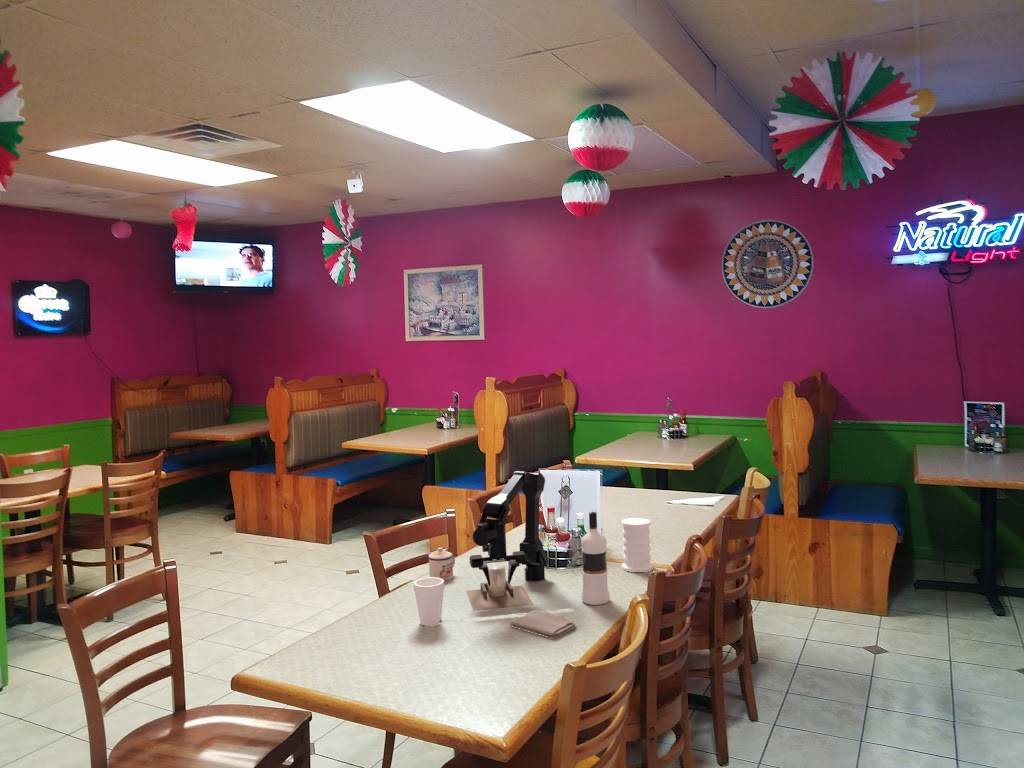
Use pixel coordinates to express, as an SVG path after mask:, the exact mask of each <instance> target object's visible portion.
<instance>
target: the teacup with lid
mask: <svg viewBox="0 0 1024 768" xmlns="http://www.w3.org/2000/svg"><path fill="white" fill-rule="evenodd" d="M427 559H428V567H429V577H437V578H441V579H443V580H444V581H451V580H453V578H454V569H453V568H454V567H455V564H456V557H455V556H453V553H452V552H450V551H446V549H445V550H444V548H443V547H437V550H435V551H433V552H432V553H429V555H428V557H427Z"/></svg>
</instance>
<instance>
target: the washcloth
mask: <svg viewBox="0 0 1024 768" xmlns="http://www.w3.org/2000/svg"><path fill="white" fill-rule="evenodd" d="M511 626H513V627H516V628H520V629H523V630H526V631H530V632H533V633H532V634H534V633H537V634H541V635H544V636H547V637H548V639H550V638H552V639H551V640H555V639H557V637H558V638H560V636H561V637H562V636H564V635H566V634H568V633H570V632H571V630H572V631H574V630H575V629H576V628H577V626H576V623H574V620H573V619H569V618H566V617H565V616H563V614H562V615H561V614H555V613H551V612H547V611H542V610H539V609H534V610H531V611H529V612H528V613H526V614H524V615H523V616H520V617H518V618H515V619H514V620H512V621H510V623H509V627H511ZM513 627H512V628H513ZM516 628H515V629H516ZM520 629H519V630H520ZM573 629H574V630H573ZM523 630H522V631H523ZM526 631H525V632H526ZM569 631H570V632H569ZM530 632H529V633H530ZM567 632H568V633H567ZM565 633H566V634H565ZM537 634H536V635H537ZM541 635H540V636H541ZM544 636H543V637H544ZM547 637H546V638H547Z"/></svg>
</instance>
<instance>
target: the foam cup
mask: <svg viewBox="0 0 1024 768" xmlns="http://www.w3.org/2000/svg"><path fill="white" fill-rule="evenodd" d="M444 589H445V580H443V579H441V578H437V577H430V576H429V577H422V578H419V579H416V580H415V581H413V592H414V594H415V599H416V606H417V611H418V618H419V622H420V625H421V624H422V626H423V625H425V626H424V627H434V626H433V625H435V626H438V625H439V623H440V624H441V622H442V621H441V620H442V615H443V613H442V612H443V601H444ZM437 624H438V625H437Z"/></svg>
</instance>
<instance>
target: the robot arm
mask: <svg viewBox="0 0 1024 768" xmlns="http://www.w3.org/2000/svg"><path fill="white" fill-rule="evenodd" d="M545 484H546V478H545V476H544V475H543V473H541V472H529V471H528V472H527V471H522V470H516V471H514V472H513V473H512V477H511V478H510V479H509V480H508V482H507V483H506V484H505V486H504V487H503V488H502V490H501V491H500V492H499V493H498V494H497V495H495V496H493V497H491V498H490V499H489V500H488V501H487V502H486V503H485V505H484V507H483V510H482V513H481V516H480V519H479V524H477V526H476V527H477V528H476V529H475V530H474V531H473V534H472V540H473V542H474V544H475V545H477V546H478V547H481V548H482V549H481V550H482V552H483V553H487V554H488V555H487V556H485V557H483V555H482V554H472V555H470V556H469V565H470V567H471V569H472V568H473V569H476V568H478V570H480V571H482V572H483V574H484V576H485V578H486V583H487V582H488V585H489V586H490V577H489V570H488V565H487V564H490V563H491V564H493V563H502V562H504V563H505V562H508V563H507V564H508V572H507V581H508V584H511V581H512V579H513V576H514V573H515V571H516V569H517V568H518V567H520V565H522V566H525V568H524V580H525V581H526V582H539V581H540V582H541V581H544V580H545V579H546V577H545V572H546V571H545V568H546V567H547V566H548V565H549V557H548V556H547V554H546V553H545V552H544V544H543V542H542V541H541V539H540V497H541V495H542V494H543V492H544V489H545ZM520 491H522V494H523V495H524V497H525V518H524V519H525V528H524V529H525V530H524V538H523V541H522V542H519V551H517V550H515V551H512V554H510V555H507V536H506V535H507V534H506V533H507V532H506V524H508V523H509V520H508V519H507V517H508V516H509V513H510V512H511V503H512V502H513V500H514V499H515V497H517V495H518V494H519V492H520Z"/></svg>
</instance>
